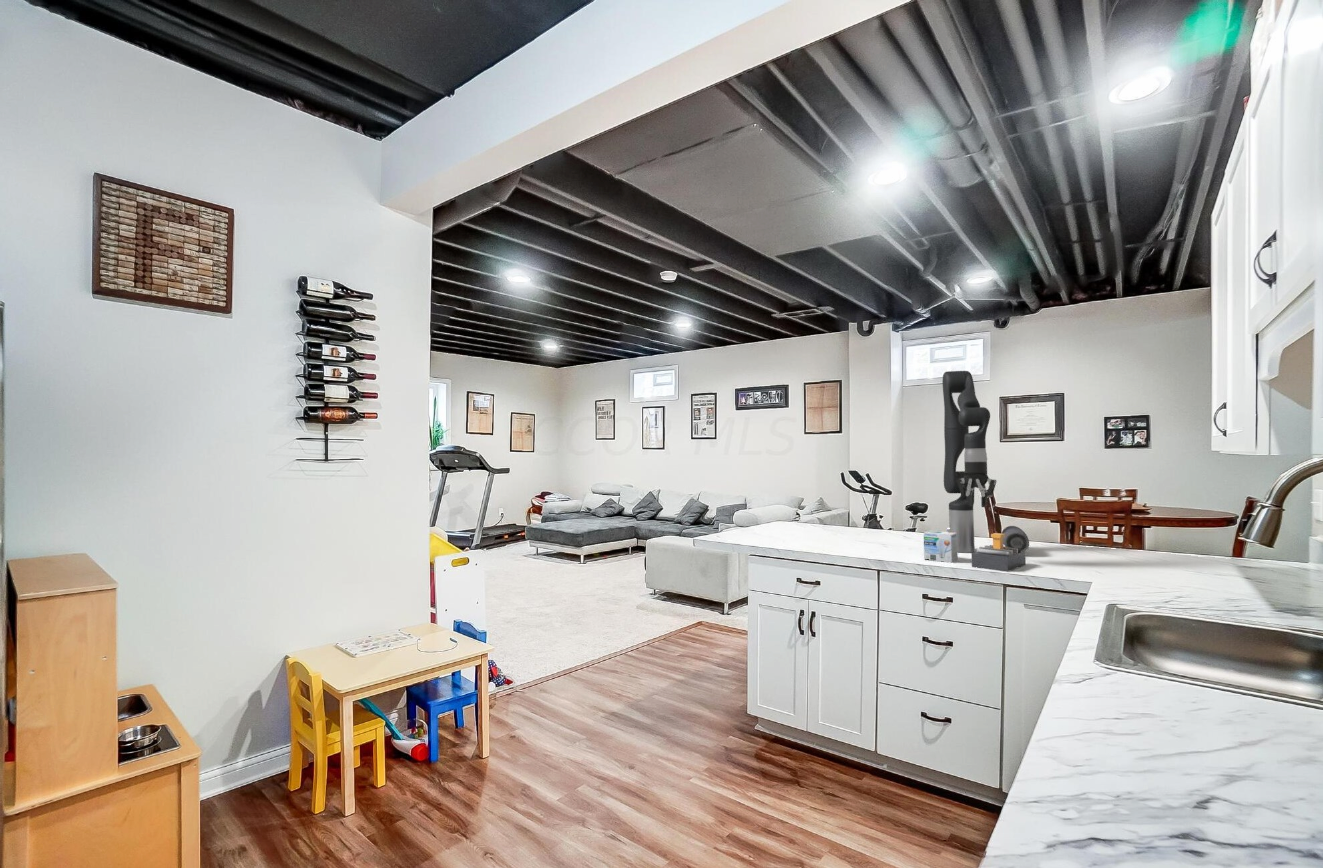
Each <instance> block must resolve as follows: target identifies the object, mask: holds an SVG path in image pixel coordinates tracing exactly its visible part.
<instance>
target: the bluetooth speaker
mask: <svg viewBox="0 0 1323 868" xmlns="http://www.w3.org/2000/svg"><path fill="white" fill-rule="evenodd" d="M1001 534H1005V537H1004V538H1003V546H1004V547H1014V548H1020V549H1021V551H1025V552H1026V551H1028V549H1029V546H1030V540H1029V537H1028V535H1027V534H1026V532H1025V531H1024V530H1023V529H1021V528H1020V527H1018V526H1015V525H1009V526H1007V527H1004V529H1003V530H1002V531H1001Z"/></svg>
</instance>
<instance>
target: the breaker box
mask: <svg viewBox="0 0 1323 868" xmlns="http://www.w3.org/2000/svg"><path fill="white" fill-rule="evenodd" d="M1003 548H1004V549H995V548H993V546H990V545H984V547H983V546H979V547H978V549H987V550H996V551H1006V552H1009V553H1010V555H1009V556H1005V555H996V554H987V553H978V552H977V551H974V552H970V553H971V567H972V568H976V567H977V568H976V569H984V570H991V571H1001V572H1010V571H1013V570H1016V569H1018V568H1021V567H1024V566H1026V564H1027V563H1026V551H1021V552H1018V549H1015V548H1005V546H1004V547H1003Z"/></svg>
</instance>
